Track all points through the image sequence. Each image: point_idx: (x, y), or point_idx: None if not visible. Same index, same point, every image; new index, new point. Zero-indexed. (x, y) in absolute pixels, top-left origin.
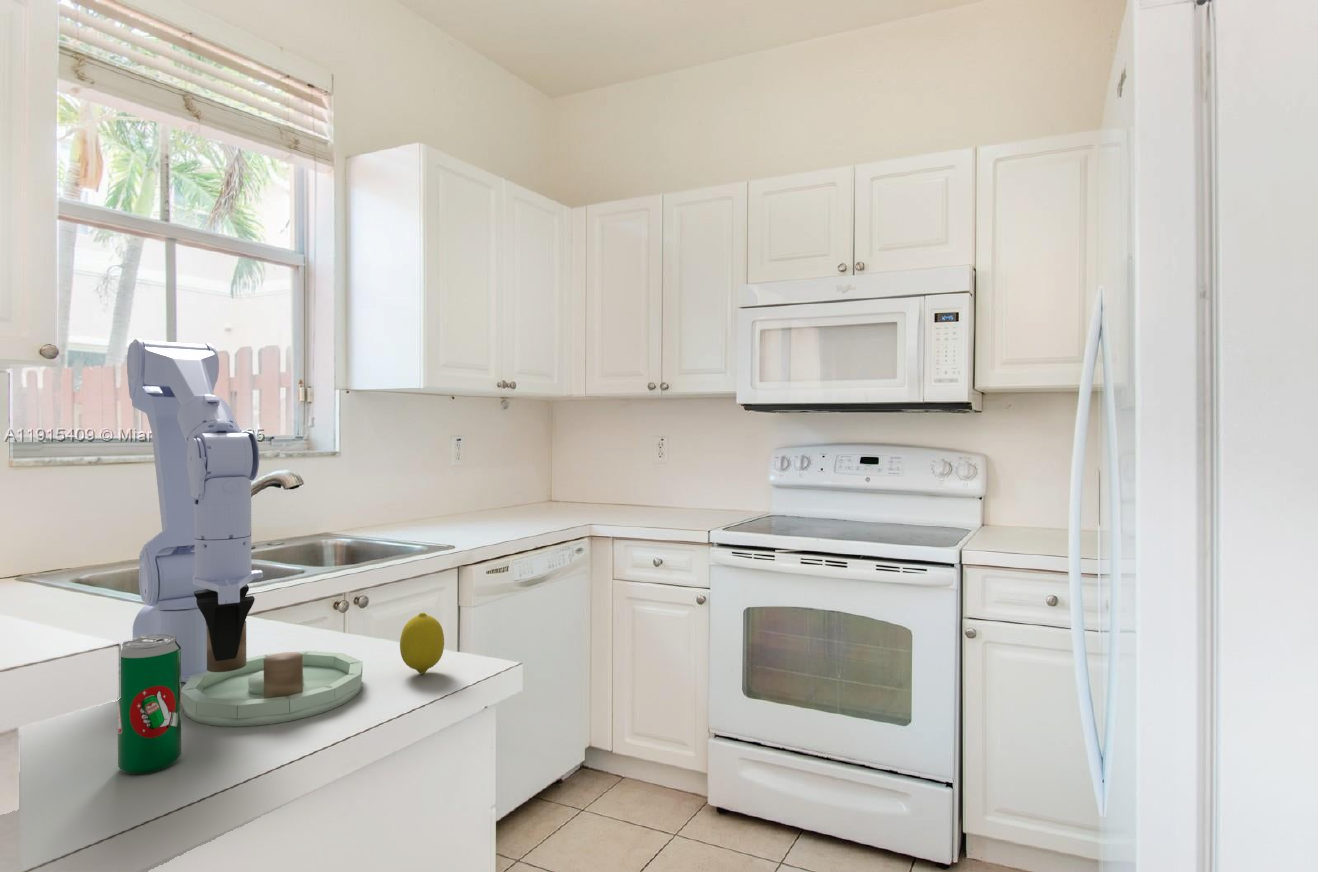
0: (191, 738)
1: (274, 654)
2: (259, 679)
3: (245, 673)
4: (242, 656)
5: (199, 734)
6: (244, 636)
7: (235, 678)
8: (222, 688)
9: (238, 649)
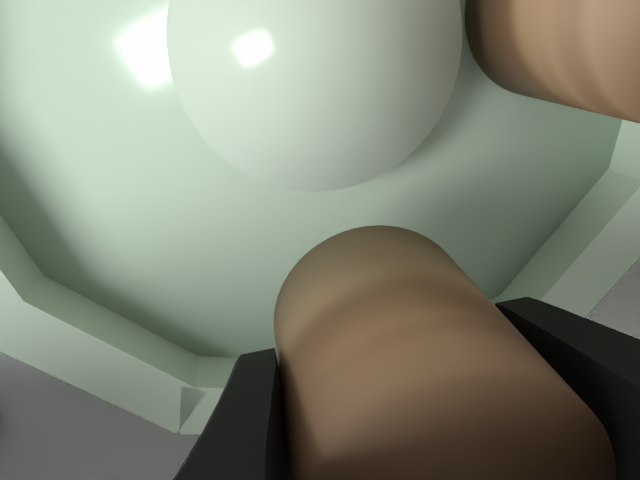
0: (636, 303)
1: (603, 63)
2: (358, 135)
3: (14, 214)
4: (450, 264)
5: (615, 286)
6: (487, 315)
7: (93, 251)
8: (235, 285)
9: (557, 307)
